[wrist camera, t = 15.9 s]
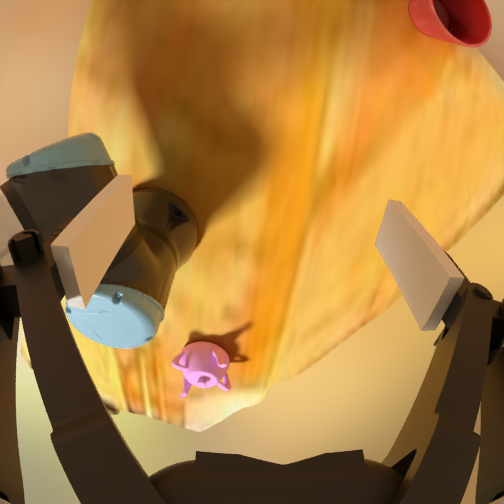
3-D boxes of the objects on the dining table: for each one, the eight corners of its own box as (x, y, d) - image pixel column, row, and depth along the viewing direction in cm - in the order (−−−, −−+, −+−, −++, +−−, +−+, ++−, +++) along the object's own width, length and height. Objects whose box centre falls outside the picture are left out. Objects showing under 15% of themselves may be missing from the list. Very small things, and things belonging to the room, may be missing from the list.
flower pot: (422, -26, 27) (454, -38, 19) (465, 25, 31) (502, 24, 23) (385, 6, 32) (416, -4, 23) (433, 58, 35) (468, 62, 27)
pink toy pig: (185, 369, 74) (180, 398, 66) (174, 332, 66) (167, 364, 59) (232, 370, 74) (231, 400, 66) (228, 333, 66) (226, 366, 59)
